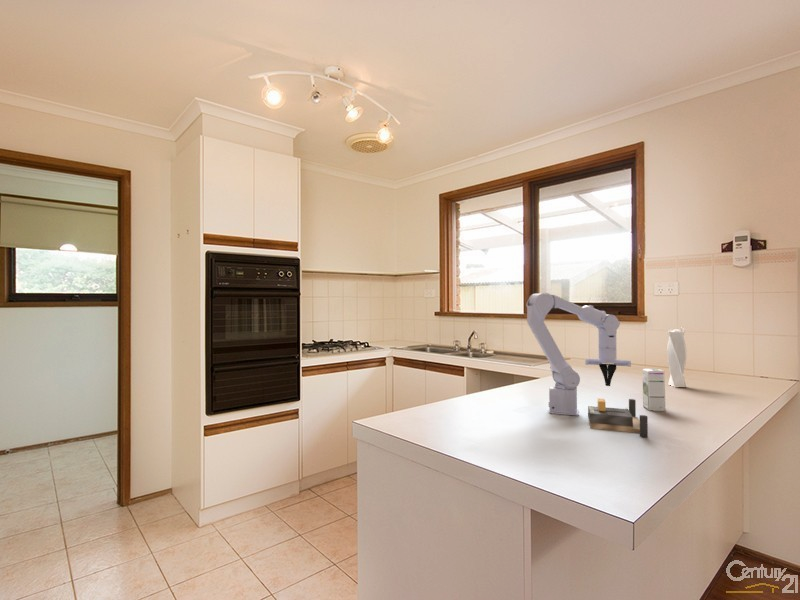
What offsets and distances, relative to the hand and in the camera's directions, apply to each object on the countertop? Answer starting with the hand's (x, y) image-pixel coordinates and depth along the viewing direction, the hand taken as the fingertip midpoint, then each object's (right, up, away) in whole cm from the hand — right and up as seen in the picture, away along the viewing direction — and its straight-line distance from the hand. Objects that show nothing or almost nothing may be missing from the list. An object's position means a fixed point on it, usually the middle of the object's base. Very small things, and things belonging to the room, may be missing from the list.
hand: (607, 385), depth 149 cm
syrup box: (+19, -10, +3) cm, 21 cm away
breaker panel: (-5, -9, -15) cm, 19 cm away
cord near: (-3, -9, -28) cm, 29 cm away
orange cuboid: (-9, -5, -14) cm, 17 cm away
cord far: (+5, -9, -7) cm, 13 cm away
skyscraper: (+54, -10, +43) cm, 70 cm away
